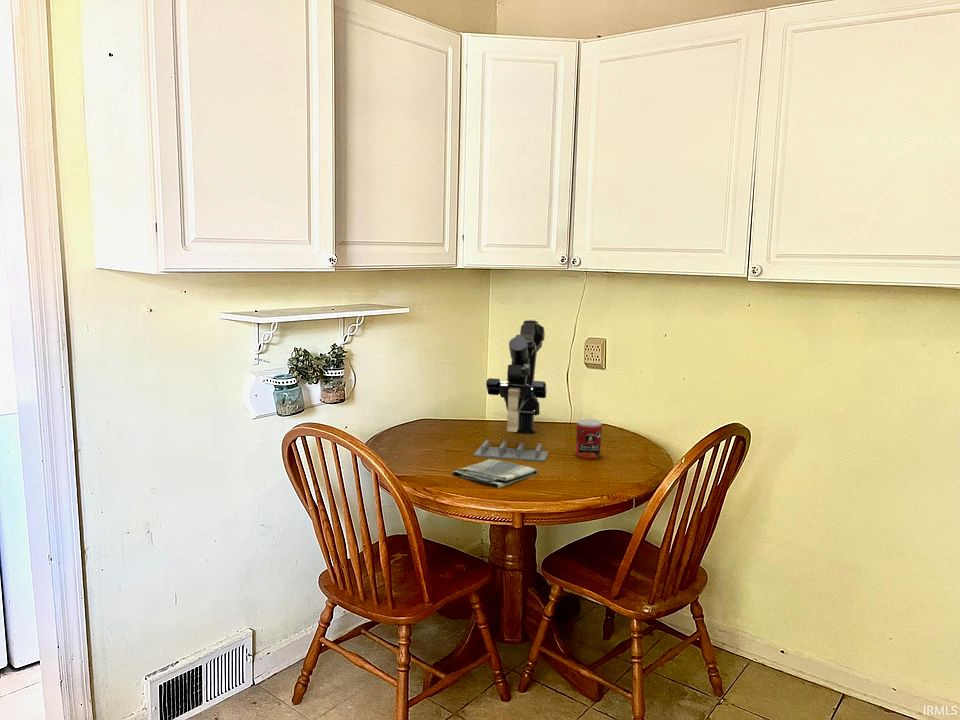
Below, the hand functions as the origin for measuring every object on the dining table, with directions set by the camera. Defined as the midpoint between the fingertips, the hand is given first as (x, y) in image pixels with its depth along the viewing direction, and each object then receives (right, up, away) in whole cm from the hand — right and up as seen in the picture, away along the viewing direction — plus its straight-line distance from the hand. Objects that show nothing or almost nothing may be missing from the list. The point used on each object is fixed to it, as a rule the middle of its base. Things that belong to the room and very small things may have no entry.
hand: (512, 410), depth 225 cm
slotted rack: (0, -14, +2) cm, 14 cm away
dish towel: (-6, -18, -18) cm, 26 cm away
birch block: (0, -6, +2) cm, 7 cm away
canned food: (+24, -15, +3) cm, 28 cm away
